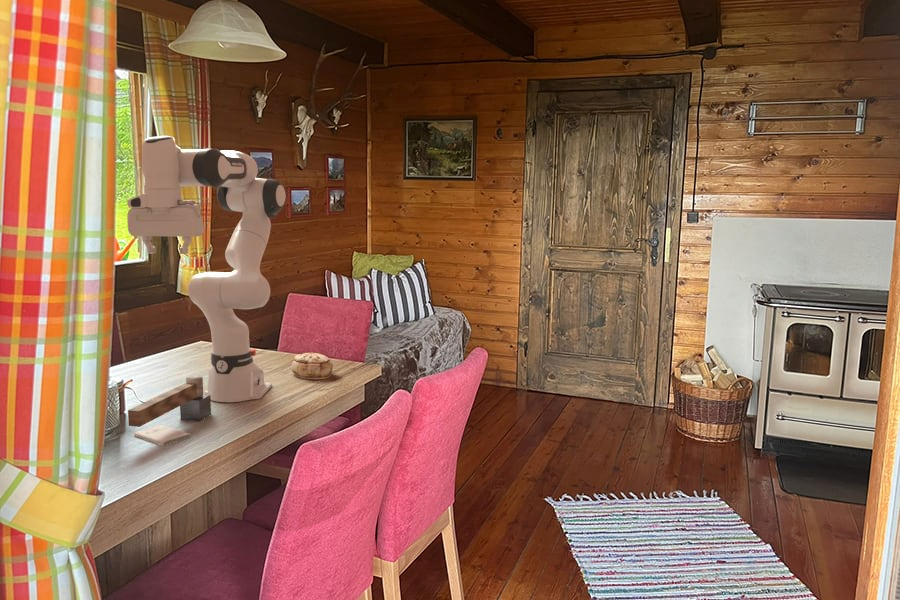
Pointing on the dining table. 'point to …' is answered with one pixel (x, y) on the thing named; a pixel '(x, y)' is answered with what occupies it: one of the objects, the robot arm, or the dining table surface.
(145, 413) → the walnut swing arm
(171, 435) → the external hard drive
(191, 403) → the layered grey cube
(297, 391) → the dining table surface
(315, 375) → the trinket box
